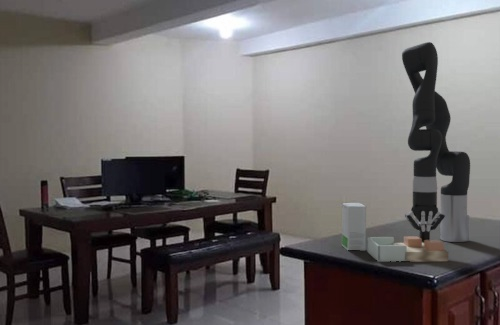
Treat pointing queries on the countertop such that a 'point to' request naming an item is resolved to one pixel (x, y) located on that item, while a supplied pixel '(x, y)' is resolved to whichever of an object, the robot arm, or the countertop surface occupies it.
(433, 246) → the tile
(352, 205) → the skincare box
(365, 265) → the countertop surface
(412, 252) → the board
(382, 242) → the box
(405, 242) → the tile
